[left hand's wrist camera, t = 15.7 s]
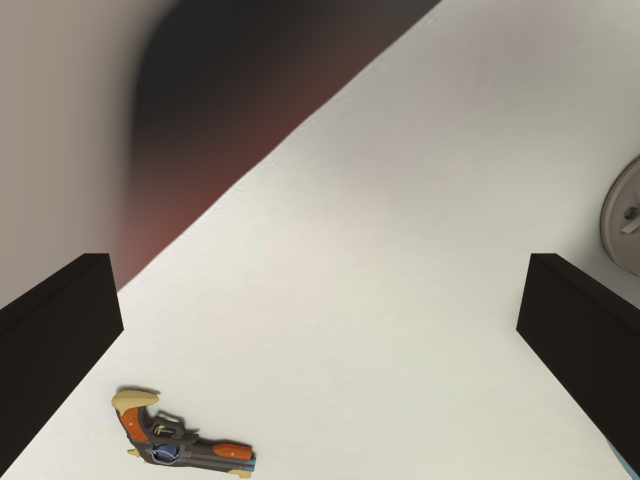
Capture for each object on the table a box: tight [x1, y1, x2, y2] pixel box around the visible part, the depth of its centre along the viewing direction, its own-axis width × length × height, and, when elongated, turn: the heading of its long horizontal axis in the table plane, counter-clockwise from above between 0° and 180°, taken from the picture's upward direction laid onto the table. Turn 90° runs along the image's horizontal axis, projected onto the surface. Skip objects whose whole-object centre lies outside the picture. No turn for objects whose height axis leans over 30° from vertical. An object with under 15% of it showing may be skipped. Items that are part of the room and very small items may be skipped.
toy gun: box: [112, 390, 256, 478], centre depth 50 cm, size 3×19×10 cm
